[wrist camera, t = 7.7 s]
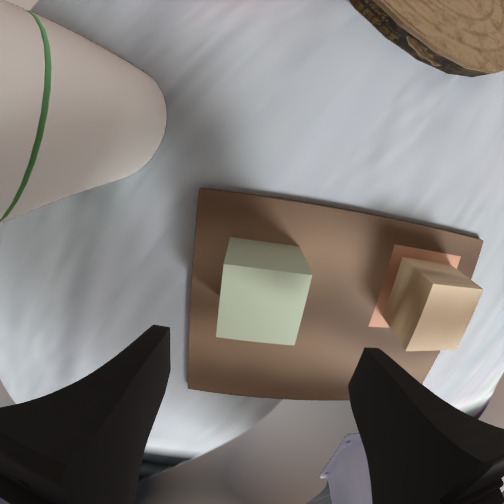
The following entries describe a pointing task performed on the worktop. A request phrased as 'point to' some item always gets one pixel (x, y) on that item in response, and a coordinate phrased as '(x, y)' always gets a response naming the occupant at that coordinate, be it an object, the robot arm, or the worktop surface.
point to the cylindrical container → (68, 113)
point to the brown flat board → (309, 294)
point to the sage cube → (262, 292)
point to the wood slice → (443, 32)
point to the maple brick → (430, 305)
